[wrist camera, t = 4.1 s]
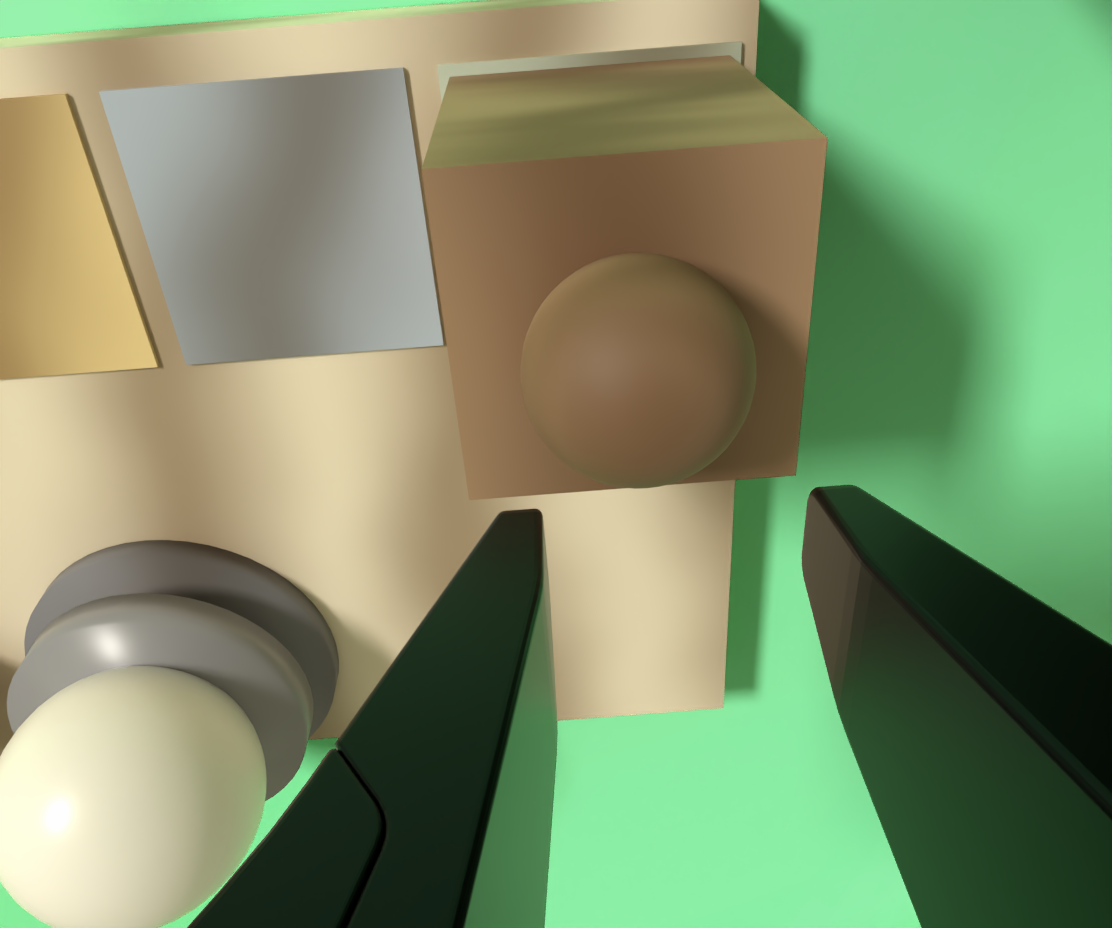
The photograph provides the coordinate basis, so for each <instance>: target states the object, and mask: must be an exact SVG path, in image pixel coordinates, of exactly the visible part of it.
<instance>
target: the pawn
mask: <svg viewBox="0 0 1112 928" xmlns="http://www.w3.org/2000/svg"><path fill="white" fill-rule="evenodd" d="M826 149H827V137H826V136H825V135H824V134H823V133H822V132H820V131H819V130H818V129H817V128H816V127H814V126H813V125H812V124H811V123H810V122H808V121H807V120H806V119H805V118H804V117H803V116H801V115H800V114H799V113H798V112H797V111H795V110H794V109H793V108H792V107H791V106H790V105H788V104H787V103H786V102H785V101H784V100H782V99H781V98H780V97H779V96H778V95H777V94H775V93H774V92H773V91H772V90H771V89H769V88H768V87H767V86H766V85H765V84H764V83H762V82H761V81H760V80H759V79H758V78H756V77H755V76H754V75H753V74H752V73H751V72H749V71H748V70H747V69H746V68H745V67H743V66H742V65H741V64H740V63H739V62H738V61H736V60H735V59H734V58H733V57H732V56H730V55H725V56H712V57H699V58H686V59H674V60H661V61H648V62H635V63H622V64H609V65H596V66H583V67H570V68H557V69H545V70H532V71H519V72H506V73H493V74H480V75H467V76H454V77H449V81H448V84H447V87H446V90H445V94H444V97H443V100H442V104H441V107H440V110H439V113H438V117H437V120H436V123H435V126H434V130H433V133H432V136H431V139H430V143H429V146H428V149H427V153H426V156H425V159H424V162H423V166H422V176H423V183H424V190H425V197H426V204H427V211H428V218H429V225H430V232H431V239H432V246H433V253H434V260H435V267H436V274H437V281H438V288H439V294H440V301H441V308H442V315H443V322H444V329H445V336H446V343H447V350H448V357H449V364H450V371H451V378H452V385H453V392H454V399H455V406H456V413H457V420H458V427H459V433H460V440H461V447H462V454H463V461H464V468H465V475H466V482H467V489H468V496H469V500H479V499H492V498H505V497H518V496H532V495H545V494H558V493H571V492H584V491H597V490H610V489H623V488H633V489H640V488H653V487H660V486H664V485H675V484H688V483H701V482H714V481H728V480H741V479H754V478H767V477H780V476H793V475H796V467H797V456H798V446H799V435H800V425H801V414H802V403H803V393H804V382H805V372H806V361H807V350H808V340H809V329H810V319H811V308H812V297H813V287H814V276H815V266H816V255H817V244H818V234H819V223H820V213H821V202H822V191H823V181H824V170H825V160H826Z"/></svg>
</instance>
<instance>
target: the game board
mask: <svg viewBox="0 0 1112 928" xmlns="http://www.w3.org/2000/svg"><path fill="white" fill-rule="evenodd" d="M758 18H759V0H487V1H474V2H461V3H448V4H435V5H422V6H409V7H396V8H384V9H371V10H358V11H345V12H332V13H319V14H306V15H293V16H281V17H268V18H255V19H242V20H229V21H216V22H203V23H190V24H178V25H165V26H152V27H139V28H126V29H113V30H100V31H88V32H75V33H62V34H49V35H36V36H23V37H10V38H0V756H1V754H2V752H3V750H4V749H5V747H6V745H7V744H8V742H9V741H10V739H11V738H12V737H13V735H14V733H13V731H12V729H11V726H10V722H9V718H8V714H7V696H8V689H9V686H10V684H11V681H12V678H13V676H14V674H15V673H16V671H17V670H18V668H19V666H20V665H21V663H22V662H23V660H24V658H25V657H26V655H27V654H28V652H29V650H30V649H31V647H32V645H33V644H34V642H35V641H36V639H37V637H38V636H39V634H40V633H41V632H42V631H43V630H44V629H45V628H46V627H47V626H48V625H49V624H50V623H51V622H52V621H53V620H55V619H56V618H57V617H59V616H60V615H61V614H63V613H65V612H67V611H69V610H71V609H72V608H74V607H76V606H79V605H82V604H84V603H87V602H90V601H92V600H96V599H101V598H105V597H109V596H115V595H123V594H139V593H153V594H167V595H174V596H180V597H186V598H191V599H195V600H199V601H203V602H207V603H210V604H213V605H216V606H218V607H221V608H224V609H227V610H229V611H231V612H233V613H236V614H238V615H240V616H242V617H244V618H246V619H248V620H249V621H251V622H253V623H254V624H256V625H258V626H259V627H261V628H263V629H264V630H265V631H267V632H268V633H269V634H271V635H272V636H273V637H274V638H276V639H277V640H278V641H279V642H280V643H281V644H282V645H283V646H284V647H285V648H286V649H287V650H288V651H289V652H290V653H291V654H292V656H293V657H294V658H295V659H296V661H297V662H298V663H299V665H300V667H301V668H302V670H303V672H304V673H305V675H306V677H307V680H308V682H309V685H310V687H311V692H312V697H313V718H312V724H311V728H310V733H309V737H308V740H309V739H322V738H335V737H340V736H341V734H342V733H343V731H344V730H345V729H346V727H347V726H348V724H349V723H350V722H351V720H352V719H353V717H354V716H355V715H356V713H357V712H358V710H359V709H360V707H361V706H362V705H363V703H364V702H365V700H366V699H367V698H368V696H369V695H370V693H371V692H372V691H373V689H374V688H375V686H376V685H377V684H378V682H379V681H380V679H381V678H382V676H383V675H384V674H385V672H386V671H387V669H388V668H389V667H390V665H391V664H392V662H393V661H394V660H395V658H396V657H397V655H398V654H399V653H400V651H401V650H402V648H403V647H404V646H405V644H406V643H407V641H408V640H409V638H410V637H411V636H412V634H413V633H414V631H415V630H416V629H417V627H418V626H419V624H420V623H421V622H422V620H423V619H424V617H425V616H426V615H427V613H428V612H429V610H430V609H431V607H432V606H433V605H434V603H435V602H436V600H437V599H438V598H439V596H440V595H441V593H442V592H443V591H444V589H445V588H446V586H447V585H448V584H449V582H450V581H451V579H452V578H453V576H454V575H455V574H456V572H457V571H458V569H459V568H460V567H461V565H462V564H463V562H464V561H465V560H466V558H467V557H468V555H469V554H470V553H471V551H472V550H473V548H474V547H475V545H476V544H477V543H478V541H479V540H480V538H481V537H482V536H483V534H484V533H485V531H486V530H487V529H488V527H489V526H490V524H491V523H492V522H493V520H494V519H495V517H496V516H497V515H498V514H499V513H500V512H502V511H507V510H521V509H538V510H540V511H541V512H542V515H543V521H544V532H545V543H546V554H547V565H548V576H549V588H550V604H551V621H552V637H553V654H554V670H555V687H556V704H557V721H559V720H572V719H585V718H599V717H612V716H625V715H638V714H651V713H664V712H677V711H691V710H704V709H717V708H724V688H725V668H726V649H727V629H728V609H729V590H730V570H731V550H732V530H733V511H734V491H735V480H728V481H714V482H701V483H688V484H675V485H664V486H660V487H653V488H640V489H633V488H623V489H610V490H597V491H584V492H571V493H558V494H545V495H532V496H518V497H505V498H492V499H479V500H469V496H468V489H467V482H466V475H465V468H464V461H463V454H462V447H461V440H460V433H459V427H458V420H457V413H456V406H455V399H454V392H453V385H452V378H451V371H450V364H449V357H448V350H447V343H446V336H445V329H444V322H443V315H442V308H441V301H440V294H439V288H438V281H437V274H436V267H435V260H434V253H433V246H432V239H431V232H430V225H429V218H428V211H427V204H426V197H425V190H424V183H423V176H422V166H423V162H424V159H425V156H426V153H427V149H428V146H429V143H430V139H431V136H432V133H433V130H434V126H435V123H436V120H437V117H438V113H439V110H440V107H441V104H442V100H443V97H444V94H445V90H446V87H447V84H448V81H449V77H454V76H467V75H480V74H493V73H506V72H519V71H532V70H545V69H557V68H570V67H583V66H596V65H609V64H622V63H635V62H648V61H661V60H674V59H686V58H699V57H712V56H725V55H730V56H732V57H733V58H734V59H735V60H736V61H738V62H739V63H740V64H741V65H742V66H743V67H745V68H746V69H747V70H748V71H749V72H751V73H752V74H753V75H754V76H755V77H756V57H757V37H758Z"/></svg>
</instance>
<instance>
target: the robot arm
mask: <svg viewBox="0 0 1112 928" xmlns="http://www.w3.org/2000/svg"><path fill="white" fill-rule="evenodd" d="M802 570H803V576H804V581H805V585H806V589H807V593H808V597H809V601H810V605H811V608H812V612H813V616H814V620H815V624H816V628H817V632H818V636H819V640H820V644H821V648H822V652H823V656H824V660H825V664H826V667H827V671H828V675H829V679H830V683H831V687H832V691H833V695H834V698H835V702H836V705H837V709H838V713H839V715H840V718H841V721H842V724H843V727H844V729H845V732H846V735H847V738H848V740H849V743H850V745H851V748H852V751H853V753H854V756H855V758H856V761H857V763H858V766H859V768H860V771H861V774H862V776H863V779H864V781H865V784H866V786H867V789H868V792H869V794H870V797H871V799H872V802H873V804H874V807H875V810H876V812H877V815H878V817H879V820H880V822H881V825H882V827H883V830H884V833H885V835H886V838H887V840H888V843H889V845H890V848H891V851H892V853H893V856H894V858H895V861H896V863H897V866H898V868H899V871H900V874H901V876H902V879H903V881H904V884H905V886H906V889H907V892H908V894H909V897H910V899H911V902H912V904H913V907H914V910H915V912H916V915H917V917H918V920H919V922H920V925H921V927H922V928H1112V645H1111V644H1110V643H1108V642H1106V641H1105V640H1103V639H1102V638H1100V637H1098V636H1097V635H1095V634H1093V633H1092V632H1090V631H1089V630H1087V629H1085V628H1084V627H1082V626H1081V625H1079V624H1077V623H1076V622H1074V621H1073V620H1071V619H1069V618H1068V617H1066V616H1065V615H1063V614H1061V613H1060V612H1058V611H1057V610H1055V609H1053V608H1052V607H1050V606H1048V605H1047V604H1045V603H1044V602H1042V601H1040V600H1039V599H1037V598H1036V597H1034V596H1032V595H1031V594H1029V593H1028V592H1026V591H1024V590H1023V589H1021V588H1020V587H1018V586H1016V585H1015V584H1013V583H1012V582H1010V581H1008V580H1007V579H1005V578H1004V577H1002V576H1000V575H999V574H997V573H995V572H994V571H992V570H991V569H989V568H987V567H986V566H984V565H983V564H981V563H979V562H978V561H976V560H975V559H973V558H971V557H970V556H968V555H967V554H965V553H963V552H962V551H960V550H959V549H957V548H955V547H954V546H952V545H950V544H949V543H947V542H946V541H944V540H942V539H941V538H939V537H938V536H936V535H934V534H933V533H931V532H930V531H928V530H926V529H925V528H923V527H922V526H920V525H918V524H917V523H915V522H914V521H912V520H910V519H909V518H907V517H905V516H904V515H902V514H901V513H899V512H897V511H896V510H894V509H893V508H891V507H889V506H888V505H886V504H885V503H883V502H881V501H880V500H878V499H877V498H875V497H873V496H872V495H870V494H869V493H867V492H865V491H864V490H862V489H860V488H859V487H857V486H854V485H840V486H827V487H817V488H815V489H813V490H812V491H811V493H810V495H809V497H808V502H807V510H806V520H805V529H804V539H803V548H802ZM556 756H557V704H556V687H555V670H554V654H553V637H552V621H551V604H550V588H549V576H548V565H547V554H546V543H545V532H544V521H543V515H542V512H541V511H540V510H538V509H521V510H507V511H502V512H500V513H499V514H498V515H497V516H496V517H495V519H494V520H493V522H492V523H491V524H490V526H489V527H488V529H487V530H486V531H485V533H484V534H483V536H482V537H481V538H480V540H479V541H478V543H477V544H476V545H475V547H474V548H473V550H472V551H471V553H470V554H469V555H468V557H467V558H466V560H465V561H464V562H463V564H462V565H461V567H460V568H459V569H458V571H457V572H456V574H455V575H454V576H453V578H452V579H451V581H450V582H449V584H448V585H447V586H446V588H445V589H444V591H443V592H442V593H441V595H440V596H439V598H438V599H437V600H436V602H435V603H434V605H433V606H432V607H431V609H430V610H429V612H428V613H427V615H426V616H425V617H424V619H423V620H422V622H421V623H420V624H419V626H418V627H417V629H416V630H415V631H414V633H413V634H412V636H411V637H410V638H409V640H408V641H407V643H406V644H405V646H404V647H403V648H402V650H401V651H400V653H399V654H398V655H397V657H396V658H395V660H394V661H393V662H392V664H391V665H390V667H389V668H388V669H387V671H386V672H385V674H384V675H383V676H382V678H381V679H380V681H379V682H378V684H377V685H376V686H375V688H374V689H373V691H372V692H371V693H370V695H369V696H368V698H367V699H366V700H365V702H364V703H363V705H362V706H361V707H360V709H359V710H358V712H357V713H356V715H355V716H354V717H353V719H352V720H351V722H350V723H349V724H348V726H347V727H346V729H345V730H344V731H343V733H342V734H341V736H340V737H339V738H338V740H337V741H336V743H335V749H331V750H330V751H329V752H328V753H327V755H326V756H325V757H324V759H323V760H322V762H321V763H320V765H319V766H318V767H317V769H316V770H315V772H314V773H313V774H312V776H311V777H310V779H309V780H308V781H307V783H306V784H305V785H304V787H303V788H302V789H301V791H300V792H299V793H298V795H297V796H296V797H295V799H294V800H293V801H292V803H291V804H290V805H289V807H288V808H287V809H286V811H285V812H284V813H283V815H282V816H281V817H280V819H279V820H278V821H277V823H276V824H275V825H274V826H273V828H272V829H271V830H270V832H269V833H268V834H267V835H266V837H265V838H264V839H263V840H262V841H261V843H260V844H259V845H258V846H257V847H256V848H255V850H254V851H253V852H252V853H251V854H250V856H249V857H248V858H247V859H246V860H245V861H244V863H243V864H242V865H241V866H240V867H239V869H238V870H237V871H236V872H235V873H234V875H233V876H232V877H231V878H230V879H229V880H228V882H227V883H226V884H225V885H224V886H223V888H222V889H221V890H220V891H219V892H218V893H217V894H216V896H215V897H214V898H213V899H212V900H211V901H210V902H209V904H208V905H207V906H206V907H205V908H204V909H203V910H202V911H201V913H200V914H199V915H198V916H197V917H196V918H195V919H194V920H193V922H192V923H191V924H190V925H189V926H188V927H187V928H544V925H545V911H546V897H547V883H548V869H549V855H550V841H551V827H552V813H553V798H554V784H555V770H556Z"/></svg>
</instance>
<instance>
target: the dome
mask: <svg viewBox="0 0 1112 928" xmlns="http://www.w3.org/2000/svg"><path fill="white" fill-rule="evenodd" d="M7 714H8V718H9V722H10V726H11V729H12V731H13V733H14V735H13V737H12V738H11V739H10V741H9V742H8V744H7V745H6V747H5V749H4V750H3V752H2V754H1V756H0V882H1V883H2V885H3V886H4V888H5V889H6V890H7V891H8V893H9V894H10V895H11V897H12V898H13V899H14V900H15V901H16V902H17V903H18V904H19V905H20V906H21V907H22V908H23V909H24V910H26V911H27V912H28V913H30V914H31V915H33V916H34V917H35V918H37V919H38V920H40V921H42V922H43V923H45V924H47V925H49V926H51V927H54V928H158V927H161V926H163V925H166V924H168V923H171V922H173V921H175V920H177V919H178V918H180V917H182V916H184V915H185V914H187V913H189V912H190V911H192V910H194V909H195V908H197V907H198V906H199V905H201V904H202V903H203V902H204V901H206V900H207V899H208V898H209V897H211V896H212V895H213V894H214V893H215V892H216V891H217V890H218V889H219V888H220V887H221V886H222V885H223V884H224V883H225V882H226V881H227V880H228V878H229V877H230V876H231V875H232V874H233V873H234V871H235V870H236V868H237V867H238V866H239V864H240V863H241V861H242V860H243V858H244V857H245V855H246V853H247V852H248V850H249V848H250V846H251V844H252V842H253V840H254V838H255V835H256V832H257V830H258V827H259V824H260V821H261V818H262V814H263V809H264V803H265V801H266V800H268V799H270V798H271V797H273V796H274V795H276V794H277V793H278V792H279V791H281V790H282V789H283V788H284V787H285V786H286V785H287V784H288V783H289V782H290V781H291V780H292V779H293V777H294V776H295V774H296V772H297V771H298V769H299V768H300V765H301V762H302V760H303V757H304V754H305V749H306V745H307V741H308V737H309V733H310V728H311V724H312V718H313V697H312V692H311V687H310V685H309V682H308V680H307V677H306V675H305V673H304V672H303V670H302V668H301V667H300V665H299V663H298V662H297V661H296V659H295V658H294V657H293V656H292V654H291V653H290V652H289V651H288V650H287V649H286V648H285V647H284V646H283V645H282V644H281V643H280V642H279V641H278V640H277V639H276V638H274V637H273V636H272V635H271V634H269V633H268V632H267V631H265V630H264V629H263V628H261V627H259V626H258V625H256V624H254V623H253V622H251V621H249V620H248V619H246V618H244V617H242V616H240V615H238V614H236V613H233V612H231V611H229V610H227V609H224V608H221V607H218V606H216V605H213V604H210V603H207V602H203V601H199V600H195V599H191V598H186V597H180V596H174V595H167V594H153V593H139V594H123V595H115V596H109V597H105V598H101V599H96V600H92V601H90V602H87V603H84V604H82V605H79V606H76V607H74V608H72V609H71V610H69V611H67V612H65V613H63V614H61V615H60V616H59V617H57V618H56V619H55V620H53V621H52V622H51V623H50V624H49V625H48V626H47V627H46V628H45V629H44V630H43V631H42V632H41V633H40V634H39V636H38V637H37V639H36V641H35V642H34V644H33V645H32V647H31V649H30V650H29V652H28V654H27V655H26V657H25V658H24V660H23V662H22V663H21V665H20V666H19V668H18V670H17V671H16V673H15V674H14V676H13V678H12V681H11V684H10V686H9V689H8V696H7Z"/></svg>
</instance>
